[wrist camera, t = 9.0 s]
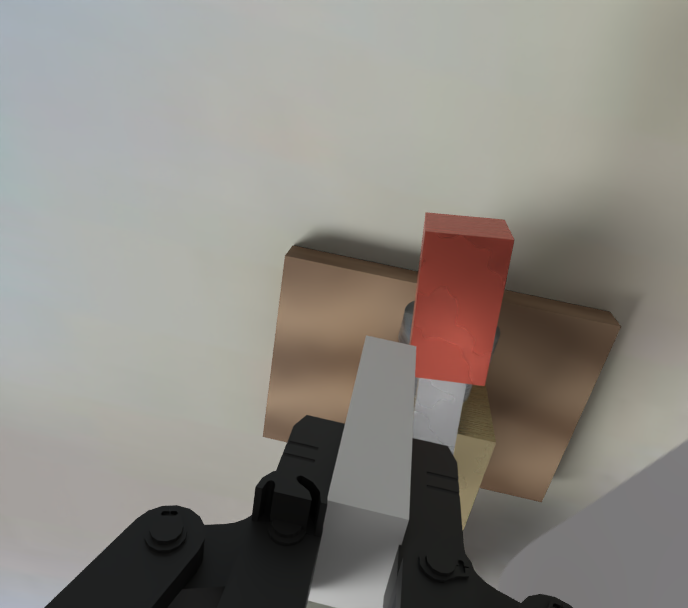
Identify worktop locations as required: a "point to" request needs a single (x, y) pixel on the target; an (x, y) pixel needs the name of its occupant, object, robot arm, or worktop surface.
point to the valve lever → (455, 316)
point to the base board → (385, 322)
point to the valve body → (466, 429)
